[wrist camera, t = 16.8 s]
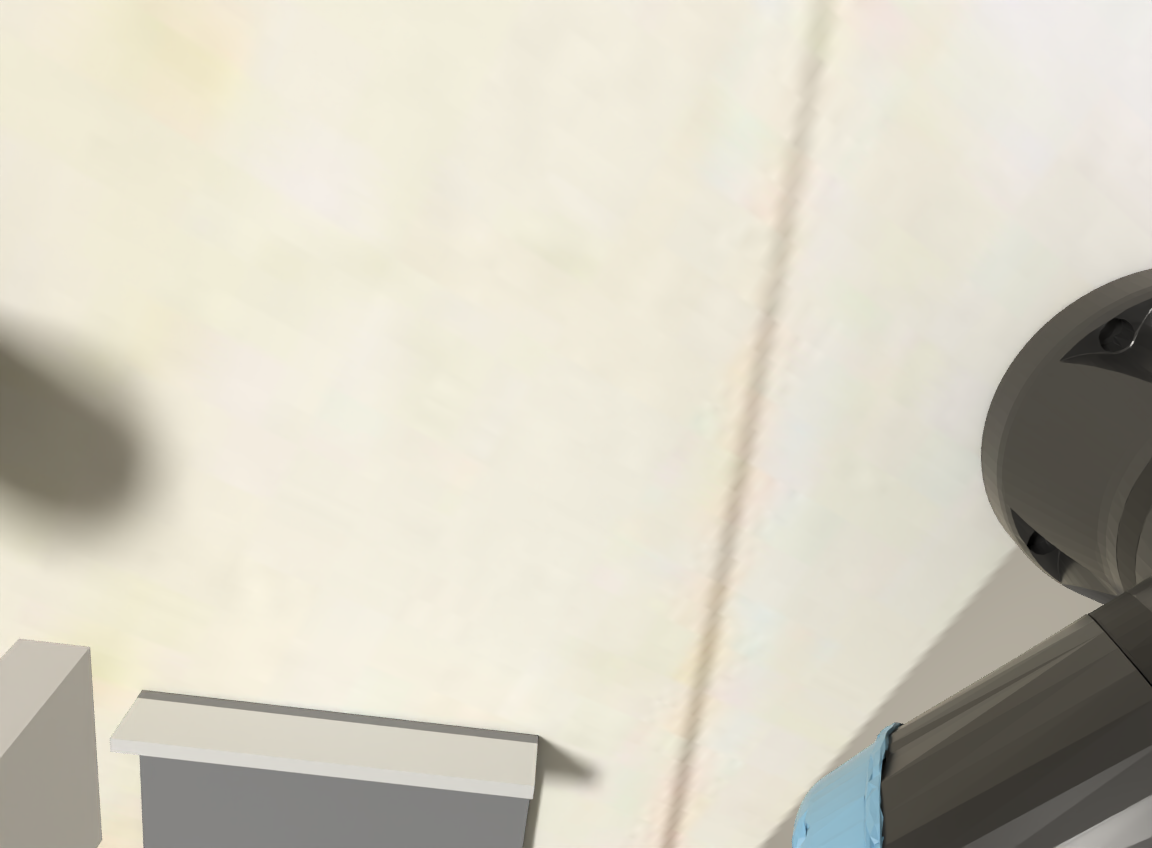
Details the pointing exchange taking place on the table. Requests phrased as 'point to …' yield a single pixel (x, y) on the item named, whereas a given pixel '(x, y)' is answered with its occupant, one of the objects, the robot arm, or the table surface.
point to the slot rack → (321, 778)
